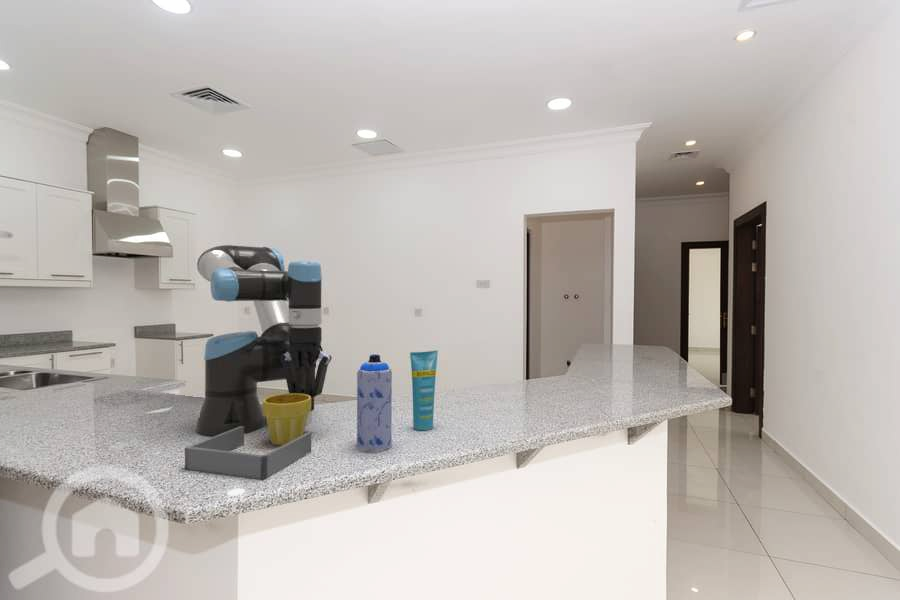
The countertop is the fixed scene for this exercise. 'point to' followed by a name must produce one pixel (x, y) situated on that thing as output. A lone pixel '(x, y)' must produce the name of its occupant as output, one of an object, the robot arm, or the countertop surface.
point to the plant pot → (286, 416)
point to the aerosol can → (374, 406)
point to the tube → (423, 388)
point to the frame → (242, 455)
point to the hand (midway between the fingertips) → (305, 424)
